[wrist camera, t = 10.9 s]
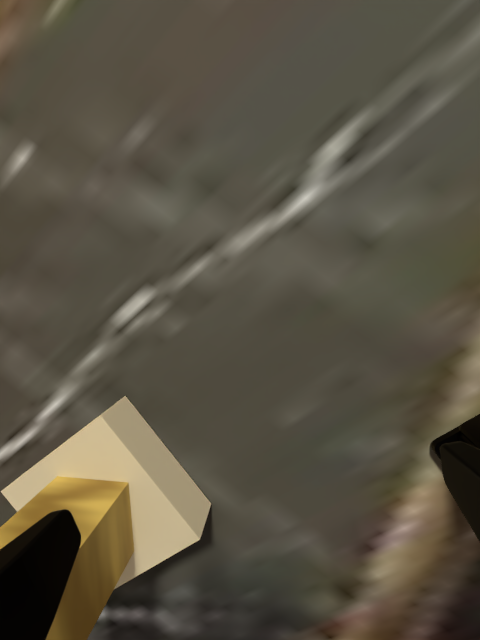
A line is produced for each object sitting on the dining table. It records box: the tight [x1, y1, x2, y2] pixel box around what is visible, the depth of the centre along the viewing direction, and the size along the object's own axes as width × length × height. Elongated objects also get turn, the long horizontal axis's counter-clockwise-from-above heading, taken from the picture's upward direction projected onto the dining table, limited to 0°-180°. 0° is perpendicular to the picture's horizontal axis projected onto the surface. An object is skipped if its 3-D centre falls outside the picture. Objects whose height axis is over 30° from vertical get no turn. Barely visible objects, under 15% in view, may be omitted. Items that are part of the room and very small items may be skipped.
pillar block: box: [0, 476, 134, 640], centre depth 14 cm, size 5×5×13 cm
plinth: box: [1, 396, 211, 589], centre depth 22 cm, size 10×10×3 cm
